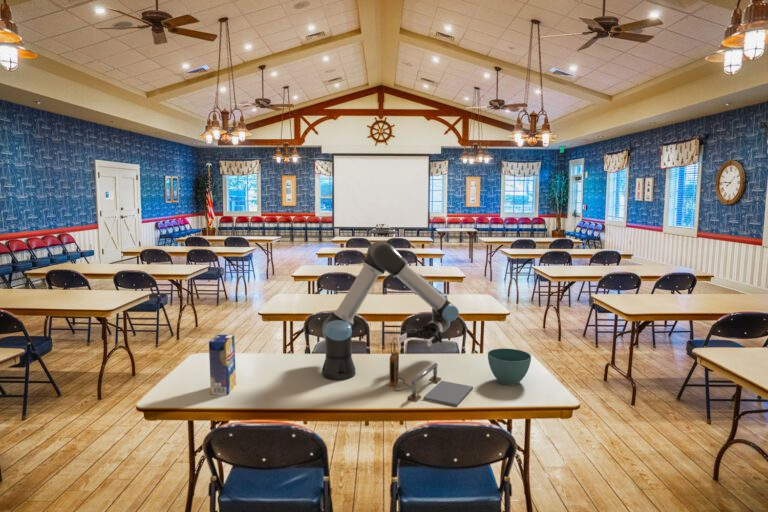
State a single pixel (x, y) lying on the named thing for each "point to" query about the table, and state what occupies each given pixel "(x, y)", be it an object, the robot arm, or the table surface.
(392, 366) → the multimeter
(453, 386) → the mat
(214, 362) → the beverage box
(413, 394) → the bent rod hurdle
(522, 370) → the teal bowl
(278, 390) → the table surface
